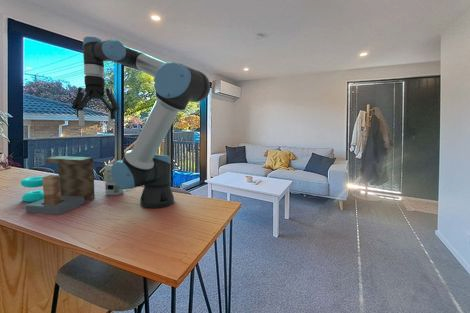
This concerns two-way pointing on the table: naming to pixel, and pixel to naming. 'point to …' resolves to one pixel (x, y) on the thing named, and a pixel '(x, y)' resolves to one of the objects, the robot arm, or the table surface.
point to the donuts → (31, 183)
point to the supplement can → (111, 182)
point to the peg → (51, 189)
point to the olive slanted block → (75, 175)
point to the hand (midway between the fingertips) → (96, 126)
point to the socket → (57, 209)
